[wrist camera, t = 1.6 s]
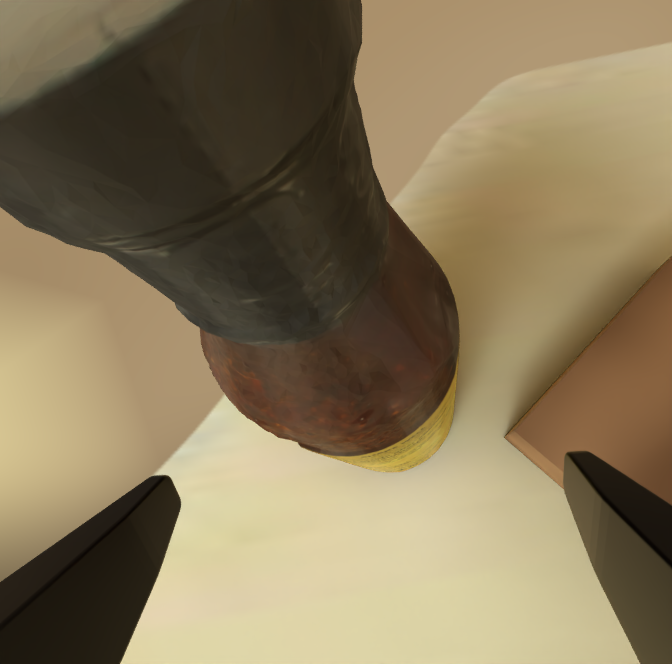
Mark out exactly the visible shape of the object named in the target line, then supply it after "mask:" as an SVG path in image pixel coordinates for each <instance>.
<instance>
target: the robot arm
mask: <svg viewBox="0 0 672 664" xmlns="http://www.w3.org/2000/svg"><path fill="white" fill-rule="evenodd" d="M563 487H564V491H565V495H566V497H567V500H568V503H569V505H570V508H571V511H572V513H573V516H574V519H575V521H576V524H577V527H578V529H579V532H580V535H581V537H582V540H583V543H584V545H585V548H586V551H587V553H588V556H589V558H590V561H591V563H592V566H593V568H594V571H595V573H596V575H597V577H598V579H599V582H600V584H601V586H602V588H603V590H604V592H605V594H606V596H607V598H608V600H609V602H610V604H611V606H612V608H613V610H614V612H615V614H616V616H617V618H618V620H619V622H620V624H621V626H622V628H623V630H624V632H625V634H626V636H627V638H628V640H629V642H630V644H631V646H632V648H633V650H634V652H635V654H636V656H637V658H638V660H639V662H640V664H672V505H671V504H670V503H668V502H667V501H665V500H664V499H662V498H661V497H659V496H657V495H656V494H654V493H653V492H651V491H650V490H648V489H647V488H645V487H644V486H642V485H641V484H639V483H637V482H636V481H634V480H633V479H631V478H630V477H628V476H627V475H625V474H624V473H622V472H621V471H619V470H617V469H616V468H614V467H613V466H611V465H610V464H608V463H607V462H605V461H604V460H602V459H601V458H599V457H597V456H596V455H594V454H593V453H591V452H589V451H569V452H567V453H566V454H565V456H564V471H563ZM180 508H181V499H180V497H179V495H178V492H177V490H176V488H175V486H174V484H173V481H172V479H171V478H170V477H169V476H168V475H156V476H151V477H149V478H148V479H146V480H145V481H144V482H142V483H141V484H139V485H138V486H136V487H135V488H134V489H132V490H131V491H129V492H128V493H126V494H125V495H124V496H122V497H121V498H119V499H118V500H116V501H115V502H114V503H112V504H111V505H109V506H108V507H107V508H105V509H104V510H102V511H101V512H99V513H98V514H97V515H95V516H94V517H92V518H91V519H89V520H88V521H87V522H85V523H84V524H82V525H81V526H79V527H78V528H77V529H75V530H74V531H72V532H71V533H69V534H68V535H67V536H65V537H64V538H63V539H61V540H60V541H58V542H57V543H55V544H54V545H53V546H51V547H50V548H48V549H47V550H45V551H44V552H42V553H41V554H40V555H38V556H37V557H35V558H34V559H33V560H31V561H30V562H28V563H27V564H25V565H24V566H22V567H21V568H20V569H18V570H17V571H15V572H14V573H13V574H11V575H10V576H8V577H7V578H5V579H4V580H3V581H1V582H0V664H120V663H121V661H122V658H123V656H124V654H125V651H126V649H127V647H128V644H129V642H130V640H131V638H132V635H133V633H134V631H135V628H136V626H137V624H138V621H139V619H140V617H141V614H142V612H143V610H144V607H145V605H146V603H147V600H148V598H149V596H150V593H151V591H152V589H153V587H154V584H155V582H156V579H157V577H158V574H159V572H160V569H161V566H162V563H163V560H164V557H165V554H166V551H167V548H168V545H169V542H170V539H171V536H172V533H173V530H174V527H175V524H176V521H177V518H178V515H179V512H180Z"/></svg>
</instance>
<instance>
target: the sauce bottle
mask: <svg viewBox="0 0 672 664" xmlns="http://www.w3.org/2000/svg"><path fill="white" fill-rule="evenodd" d="M361 44H362V4H361V0H0V207H1V208H2V209H4V210H5V211H6V212H8V213H9V214H10V215H12V216H13V217H14V218H16V219H17V220H18V221H19V222H21V223H22V224H23V225H25V226H26V227H29V228H32V229H35V230H37V231H40V232H43V233H46V234H48V235H51V236H53V237H55V238H57V239H59V240H61V241H62V242H65V243H66V244H70V245H73V246H77V247H81V248H84V249H88V250H93V251H97V252H102V253H105V254H107V255H108V256H110V257H111V258H113V259H114V260H116V261H117V262H119V263H120V264H122V265H123V266H124V267H126V268H127V269H128V270H129V271H131V272H132V273H134V274H135V275H137V276H138V277H140V278H141V279H143V280H144V281H146V282H147V283H148V284H150V285H151V286H153V287H154V288H156V289H157V290H158V291H160V292H161V293H162V294H164V295H165V296H166V297H168V298H169V299H171V300H172V301H173V302H175V305H176V308H177V309H178V310H179V311H180V312H181V313H182V314H183V315H184V316H185V317H186V318H187V319H188V320H189V321H190V322H192V323H193V324H195V325H196V326H199V327H200V336H201V345H202V348H203V352H204V355H205V357H206V359H207V361H208V363H209V366H210V369H211V371H212V373H213V376H214V377H215V379H216V380H217V382H218V384H219V385H220V387H221V389H222V390H223V392H224V393H225V394H226V396H227V397H228V399H229V400H230V401H231V402H232V403H233V404H234V405H235V406H236V408H237V409H238V410H239V411H240V412H241V413H242V414H243V415H245V416H246V417H247V418H248V419H250V420H252V421H253V422H255V423H256V424H258V425H259V426H260V427H261V428H263V429H264V430H266V431H268V432H271V433H272V434H274V435H275V436H277V437H278V438H283V439H288V440H292V441H295V442H298V444H299V445H300V446H301V447H302V448H305V449H307V450H309V451H312V452H315V453H318V454H321V455H324V456H327V457H330V458H334V459H337V460H341V461H344V462H347V463H350V464H353V465H356V466H359V467H363V468H366V469H370V470H374V471H380V472H401V471H405V470H408V469H410V468H413V467H415V466H417V465H419V464H421V463H423V462H424V461H426V460H427V459H428V458H430V457H431V456H432V455H433V454H434V453H435V452H436V451H437V450H438V449H439V448H440V446H441V445H442V443H443V442H444V440H445V439H446V437H447V435H448V433H449V430H450V427H451V424H452V419H453V412H454V402H455V392H456V381H457V369H458V357H459V320H458V312H457V308H456V303H455V299H454V295H453V293H452V290H451V287H450V285H449V282H448V279H447V278H446V276H445V274H444V272H443V271H442V269H441V267H440V266H439V264H438V263H437V262H436V260H435V259H434V258H433V256H432V255H431V254H430V253H429V252H428V250H427V249H426V248H425V247H424V246H423V245H422V243H421V242H420V241H419V240H418V239H417V237H416V236H415V235H414V234H413V233H412V231H411V230H410V229H409V228H408V227H407V225H406V224H405V223H404V222H403V220H402V219H401V218H400V217H399V216H398V214H397V213H396V212H395V211H394V209H393V208H392V207H391V206H390V205H389V203H388V202H387V201H386V198H385V195H384V192H383V190H382V188H381V185H380V183H379V180H378V178H377V176H376V173H375V171H374V169H373V165H372V159H371V154H370V148H369V144H368V140H367V136H366V132H365V128H364V124H363V119H362V113H361V108H360V105H359V102H358V97H357V93H356V91H355V86H354V75H355V69H356V63H357V57H358V53H359V50H360V47H361Z"/></svg>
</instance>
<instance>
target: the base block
mask: <svg viewBox="0 0 672 664" xmlns="http://www.w3.org/2000/svg"><path fill="white" fill-rule="evenodd" d="M504 438H505V439H506V440H508V441H509V442H510V443H511V444H512V445H513V446H515V447H516V448H517V449H518V450H519V451H520V452H522V453H523V454H524V455H525V456H526V457H527V458H529V459H530V460H531V461H532V462H533V463H534V464H535V465H537V466H538V467H539V468H540V469H541V470H542V471H544V472H545V473H546V474H547V475H548V476H549V477H551V478H552V479H553V480H554V481H555V482H556V483H557V484H559V485H560V486H561V487H562V488H563V489H564V487H563V471H564V456H565V454H566V453H567V452H569V451H589V452H591V453H593V454H594V455H596V456H597V457H599V458H601V459H602V460H604V461H605V462H607V463H608V464H610V465H611V466H613V467H614V468H616V469H617V470H619V471H621V472H622V473H624V474H625V475H627V476H628V477H630V478H631V479H633V480H634V481H636V482H637V483H639V484H641V485H642V486H644V487H645V488H647V489H648V490H650V491H651V492H653V493H654V494H656V495H657V496H659V497H661V498H662V499H664V500H665V501H667V502H668V503H670V504H671V505H672V256H671V257H670V258H669V259H668V260H667V261H666V262H665V263H664V264H663V265H662V266H661V267H660V268H659V269H658V270H657V271H656V272H655V273H654V274H653V275H652V276H651V277H650V278H649V279H648V280H647V282H646V283H645V284H644V285H643V286H642V287H641V288H640V289H639V290H638V291H637V293H636V294H635V295H634V296H633V297H632V298H631V299H630V300H629V301H628V302H627V303H626V305H625V306H624V307H623V308H622V309H621V310H620V311H619V312H618V313H617V314H616V316H615V317H614V318H613V319H612V320H611V321H610V322H609V323H608V324H607V325H606V326H605V328H604V329H603V330H602V331H601V332H600V333H599V334H598V335H597V336H596V337H595V339H594V340H593V341H592V342H591V343H590V344H589V345H588V346H587V347H586V348H585V349H584V351H583V352H582V353H581V354H580V355H579V356H578V357H577V358H576V359H575V360H574V362H573V363H572V364H571V365H570V366H569V367H568V368H567V369H566V370H565V371H564V372H563V374H562V375H561V376H560V377H559V378H558V379H557V380H556V381H555V382H554V383H553V385H552V386H551V387H550V388H549V389H548V390H547V391H546V392H545V393H544V394H543V395H542V397H541V398H540V399H539V400H538V401H537V402H536V403H535V404H534V405H533V406H532V408H531V409H530V410H529V411H528V412H527V413H526V414H525V415H524V416H523V417H522V418H521V420H520V421H519V422H518V423H517V424H516V425H515V426H514V427H513V428H512V429H511V431H510V432H509V433H508V434H507V435H506V436H505V437H504Z"/></svg>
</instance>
